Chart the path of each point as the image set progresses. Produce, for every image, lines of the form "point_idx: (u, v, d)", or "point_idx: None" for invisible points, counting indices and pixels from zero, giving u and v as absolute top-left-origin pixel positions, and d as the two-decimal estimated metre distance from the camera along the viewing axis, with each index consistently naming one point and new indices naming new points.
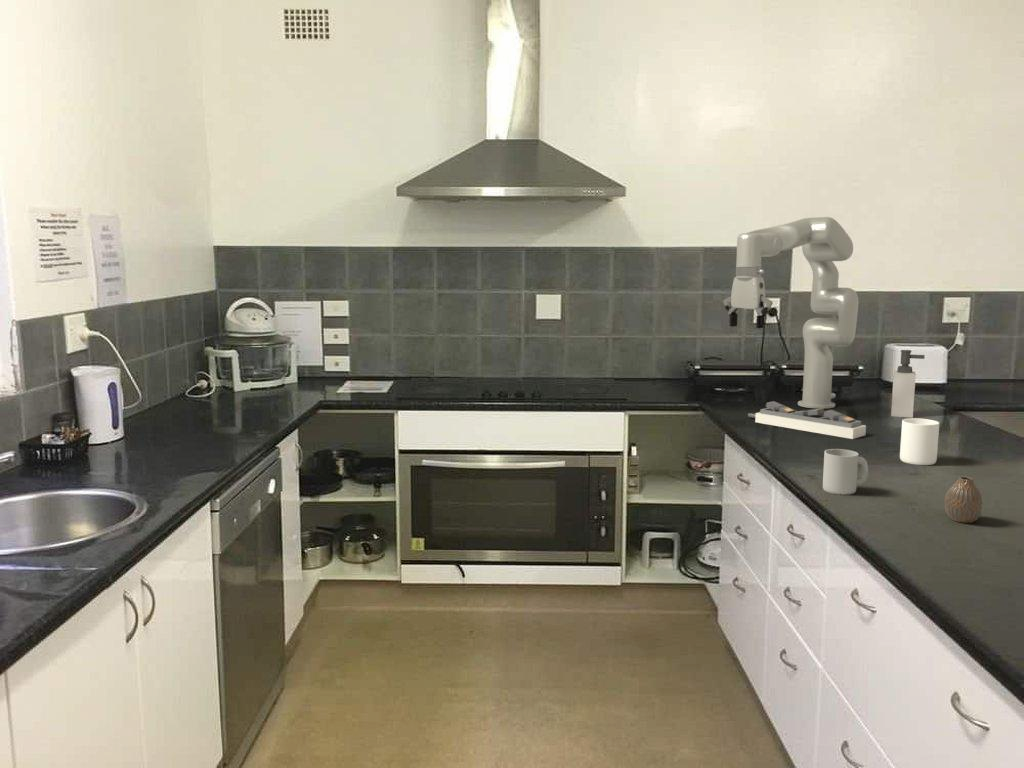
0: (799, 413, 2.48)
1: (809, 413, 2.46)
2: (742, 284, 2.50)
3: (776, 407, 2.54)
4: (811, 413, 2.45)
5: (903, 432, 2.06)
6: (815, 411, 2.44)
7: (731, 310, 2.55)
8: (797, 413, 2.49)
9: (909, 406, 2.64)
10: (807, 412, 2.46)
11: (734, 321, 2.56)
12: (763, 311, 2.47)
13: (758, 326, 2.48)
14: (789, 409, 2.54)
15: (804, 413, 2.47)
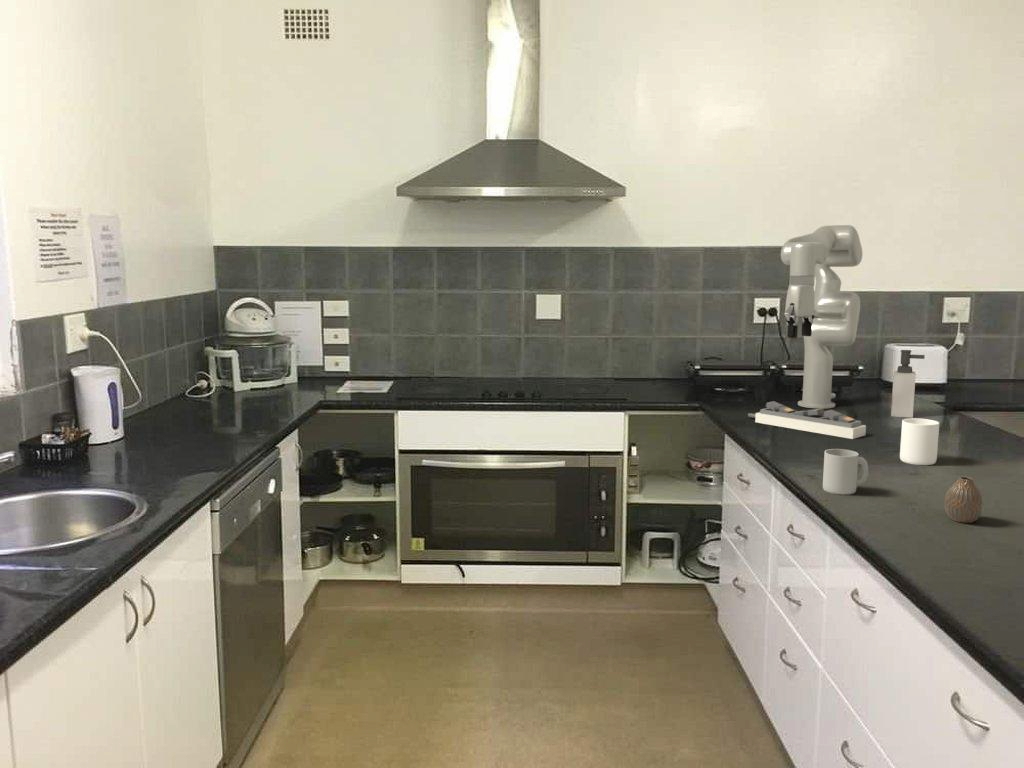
0: (799, 413, 2.48)
1: (809, 413, 2.46)
2: (808, 292, 2.51)
3: (776, 407, 2.54)
4: (811, 413, 2.45)
5: (903, 432, 2.06)
6: (815, 411, 2.44)
7: (796, 321, 2.51)
8: (797, 413, 2.49)
9: (909, 406, 2.64)
10: (807, 412, 2.46)
11: None
12: None
13: None
14: (789, 409, 2.54)
15: (804, 413, 2.47)
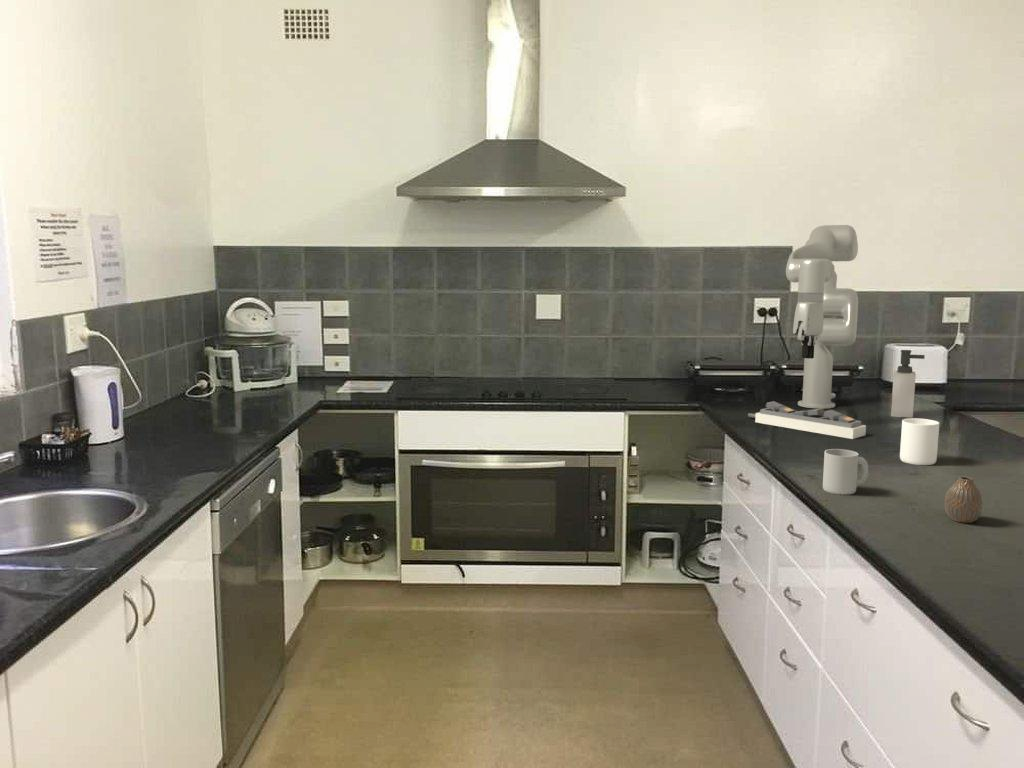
0: (799, 413, 2.48)
1: (809, 413, 2.46)
2: (817, 310, 2.44)
3: (776, 407, 2.54)
4: (811, 413, 2.45)
5: (903, 432, 2.06)
6: (815, 411, 2.44)
7: (810, 341, 2.45)
8: (797, 413, 2.49)
9: (909, 406, 2.64)
10: (807, 412, 2.46)
11: None
12: None
13: None
14: (789, 409, 2.54)
15: (804, 413, 2.47)
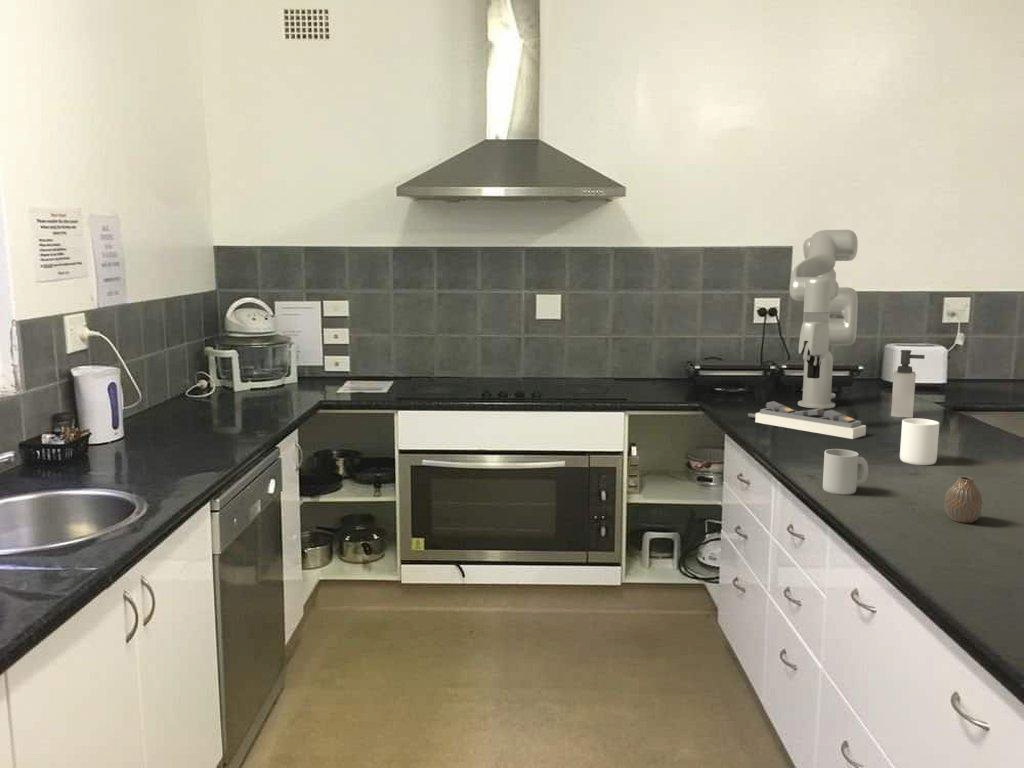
0: (799, 413, 2.48)
1: (809, 413, 2.46)
2: (823, 330, 2.41)
3: (776, 407, 2.54)
4: (811, 413, 2.45)
5: (903, 432, 2.06)
6: (815, 411, 2.44)
7: (816, 360, 2.43)
8: (797, 413, 2.49)
9: (909, 406, 2.64)
10: (807, 412, 2.46)
11: None
12: None
13: None
14: (789, 409, 2.54)
15: (804, 413, 2.47)
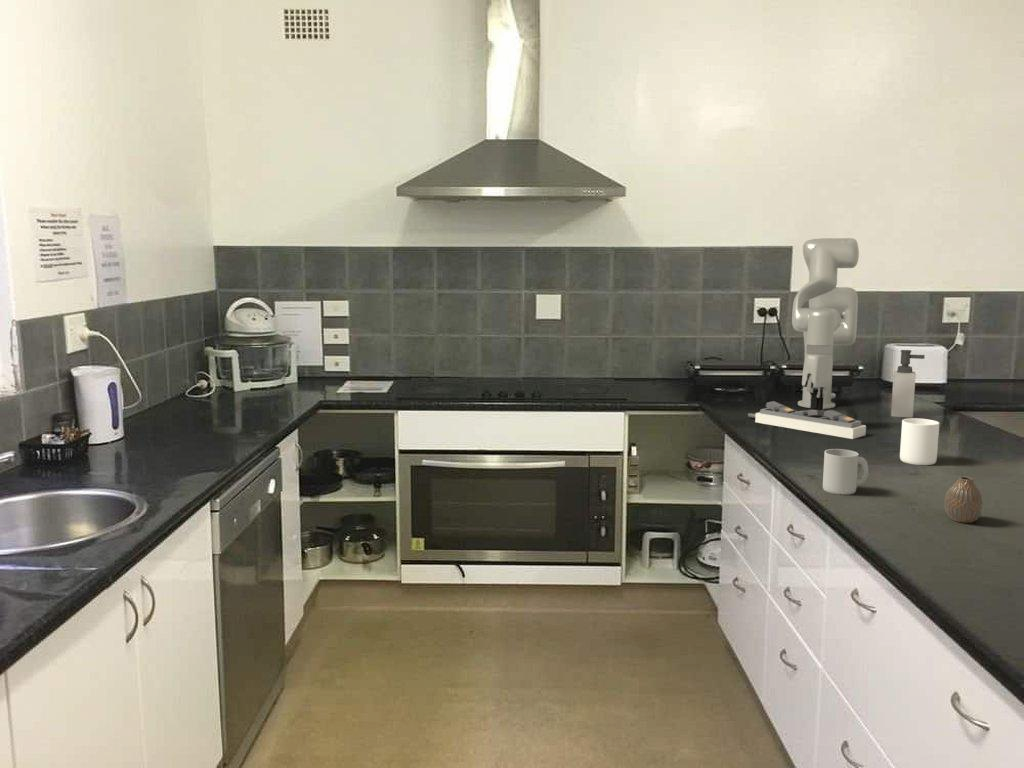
0: (799, 413, 2.48)
1: (809, 413, 2.46)
2: (826, 362, 2.42)
3: (776, 407, 2.54)
4: (811, 413, 2.45)
5: (903, 432, 2.06)
6: (815, 411, 2.44)
7: (819, 393, 2.43)
8: (797, 413, 2.49)
9: (909, 406, 2.64)
10: (807, 412, 2.46)
11: None
12: None
13: None
14: (789, 409, 2.54)
15: (804, 413, 2.47)
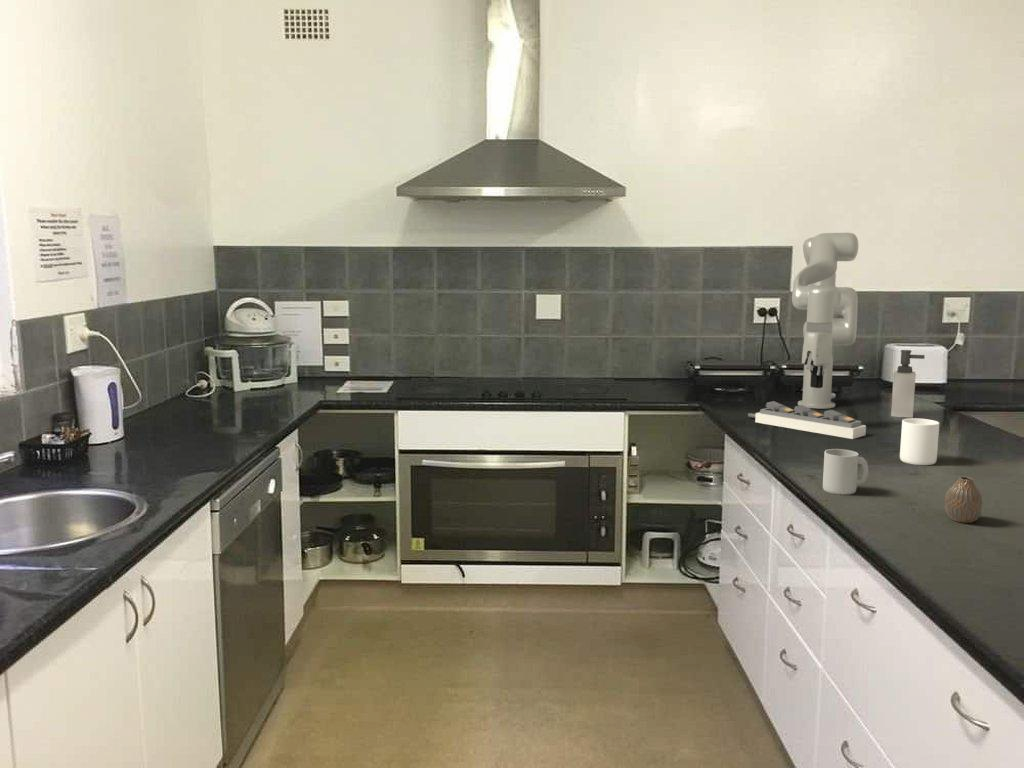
0: (800, 410, 2.48)
1: (809, 415, 2.46)
2: (826, 340, 2.41)
3: (776, 407, 2.54)
4: (811, 416, 2.45)
5: (903, 432, 2.06)
6: (815, 417, 2.44)
7: (819, 370, 2.43)
8: (798, 409, 2.49)
9: (909, 406, 2.64)
10: (807, 413, 2.46)
11: None
12: None
13: None
14: (789, 409, 2.54)
15: (804, 413, 2.47)
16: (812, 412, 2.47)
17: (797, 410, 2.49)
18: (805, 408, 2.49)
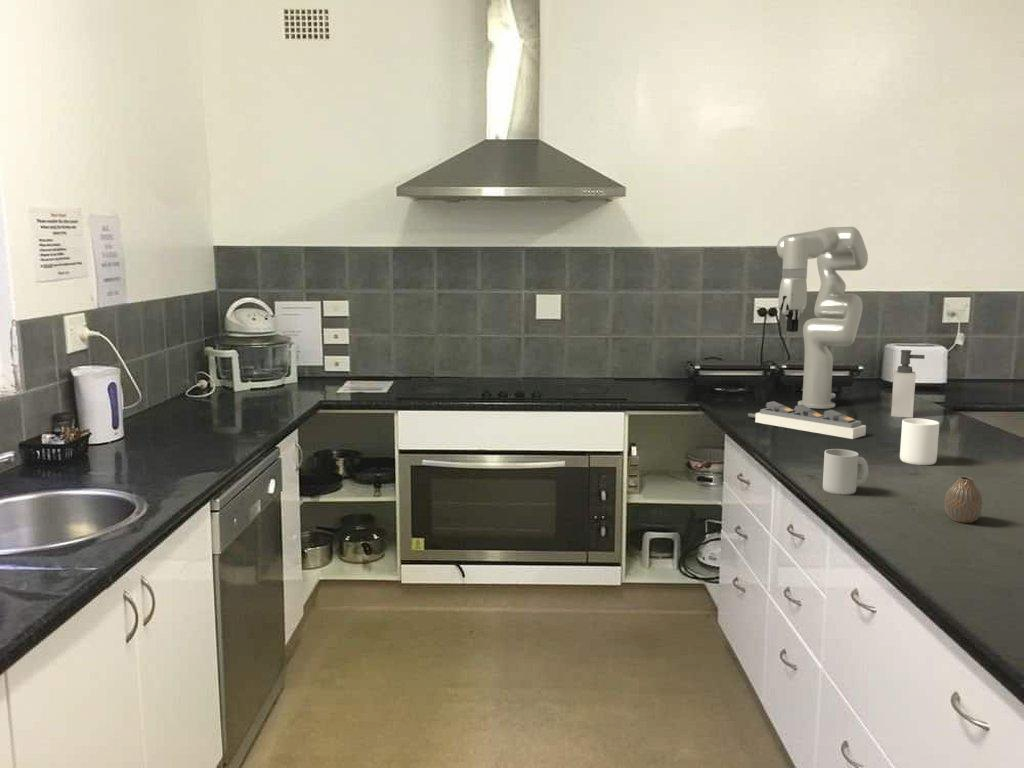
0: (800, 409, 2.48)
1: (809, 415, 2.46)
2: (800, 285, 2.55)
3: (776, 407, 2.54)
4: None
5: (903, 432, 2.06)
6: (815, 417, 2.44)
7: (794, 315, 2.57)
8: (798, 408, 2.48)
9: (909, 406, 2.64)
10: (807, 413, 2.46)
11: None
12: None
13: None
14: (789, 409, 2.54)
15: (804, 412, 2.47)
16: (812, 412, 2.47)
17: (797, 409, 2.49)
18: (805, 408, 2.49)
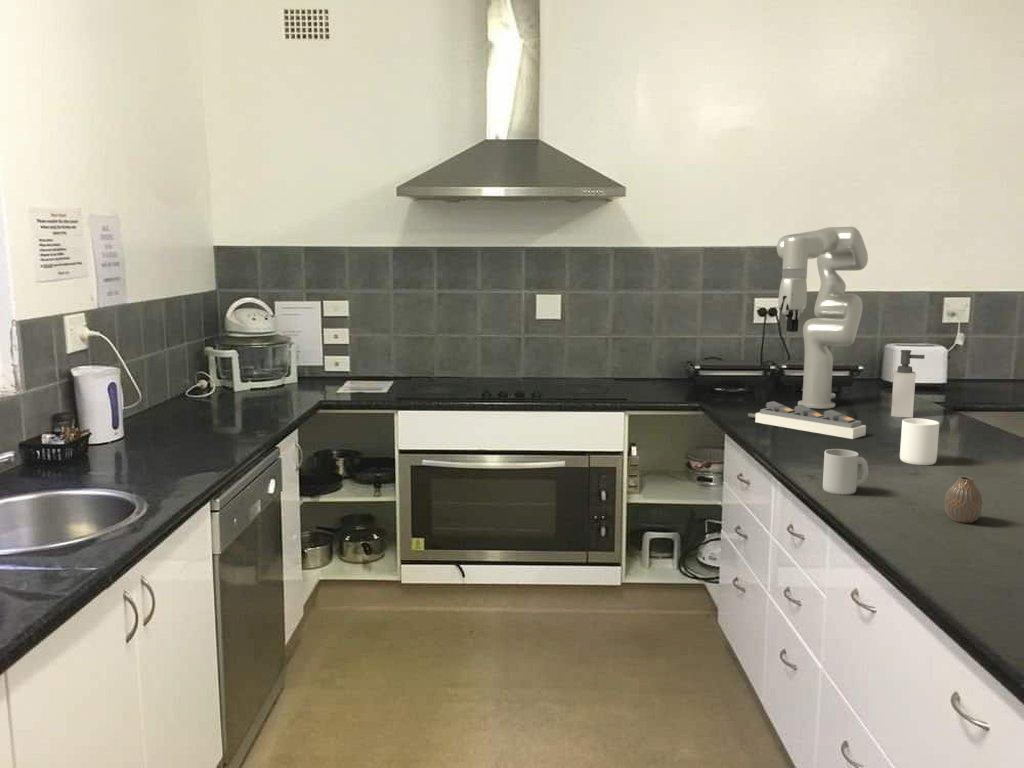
0: (800, 410, 2.48)
1: (809, 415, 2.46)
2: (800, 285, 2.55)
3: (776, 407, 2.54)
4: (810, 416, 2.45)
5: (903, 432, 2.06)
6: (815, 417, 2.44)
7: (794, 315, 2.57)
8: (798, 408, 2.48)
9: (909, 406, 2.64)
10: (807, 413, 2.46)
11: None
12: None
13: None
14: (789, 409, 2.54)
15: (804, 413, 2.47)
16: (812, 412, 2.47)
17: (797, 410, 2.49)
18: (805, 408, 2.49)
